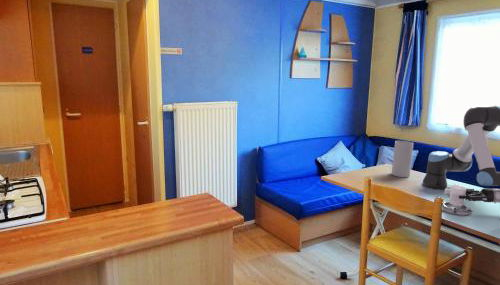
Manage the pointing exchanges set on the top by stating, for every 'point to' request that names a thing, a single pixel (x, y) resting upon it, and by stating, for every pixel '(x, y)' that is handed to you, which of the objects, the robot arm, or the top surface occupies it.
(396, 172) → the cylinder vase
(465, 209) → the rosette plate
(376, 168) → the top surface
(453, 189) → the white cup
